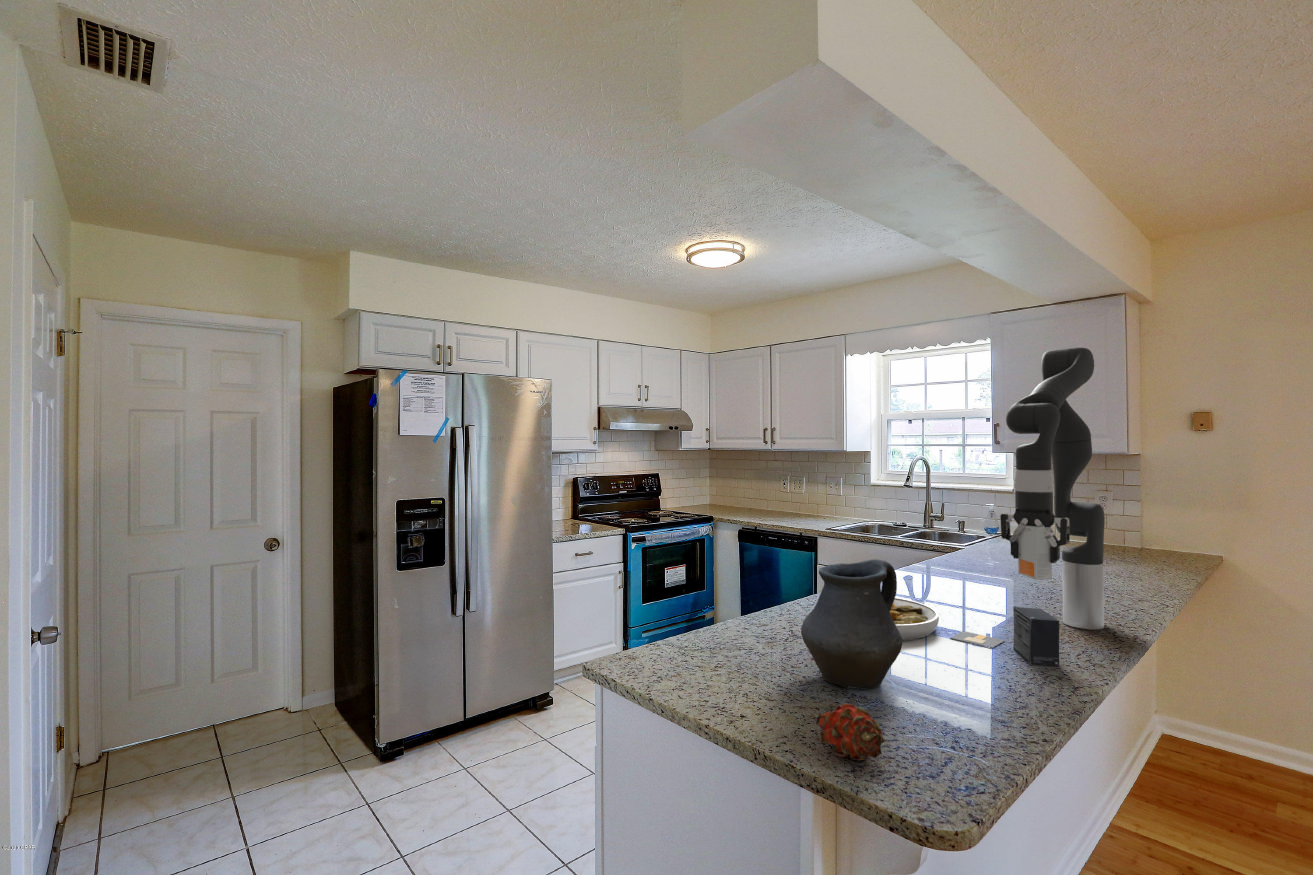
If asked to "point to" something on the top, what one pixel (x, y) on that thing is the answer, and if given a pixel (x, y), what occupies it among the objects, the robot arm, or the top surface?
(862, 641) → the pitcher
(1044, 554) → the skincare box
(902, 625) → the bowl
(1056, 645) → the small box
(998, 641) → the card
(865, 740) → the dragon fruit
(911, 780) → the top surface
